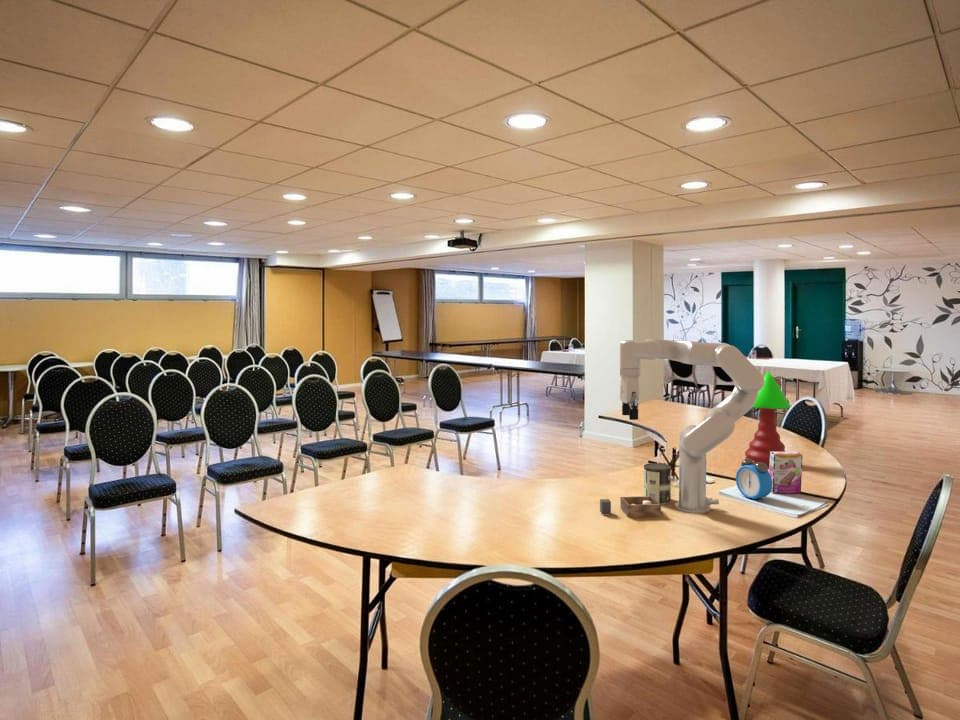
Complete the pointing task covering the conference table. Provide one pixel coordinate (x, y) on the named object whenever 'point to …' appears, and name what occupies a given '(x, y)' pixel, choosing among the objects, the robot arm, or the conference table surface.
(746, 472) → the alarm clock
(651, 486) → the coffee can
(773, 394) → the table lamp
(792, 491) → the candy bar box
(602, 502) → the lid
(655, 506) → the box
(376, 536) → the conference table surface
